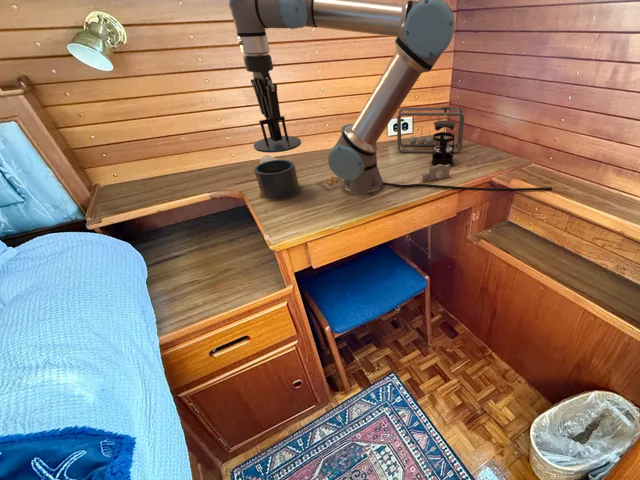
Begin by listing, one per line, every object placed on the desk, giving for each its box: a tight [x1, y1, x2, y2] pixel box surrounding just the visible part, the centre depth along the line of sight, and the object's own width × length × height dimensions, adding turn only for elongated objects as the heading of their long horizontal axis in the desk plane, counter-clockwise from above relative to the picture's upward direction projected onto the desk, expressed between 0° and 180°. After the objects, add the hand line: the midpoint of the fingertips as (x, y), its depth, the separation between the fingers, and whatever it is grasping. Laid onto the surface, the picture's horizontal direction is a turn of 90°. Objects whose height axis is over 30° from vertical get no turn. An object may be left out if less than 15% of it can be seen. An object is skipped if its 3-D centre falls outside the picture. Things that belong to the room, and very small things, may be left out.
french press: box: [431, 106, 456, 167], centre depth 139 cm, size 12×9×23 cm
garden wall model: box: [421, 164, 451, 183], centre depth 131 cm, size 12×2×6 cm, turn 110°
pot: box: [253, 159, 300, 200], centre depth 123 cm, size 14×14×10 cm
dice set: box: [324, 175, 339, 187], centre depth 130 cm, size 5×5×2 cm
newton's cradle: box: [396, 107, 465, 154], centre depth 155 cm, size 30×10×18 cm, turn 86°
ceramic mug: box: [258, 154, 281, 165], centre depth 138 cm, size 11×8×8 cm
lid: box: [253, 115, 302, 154], centre depth 106 cm, size 15×15×9 cm
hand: (276, 139), depth 108 cm, fingers closed on lid
